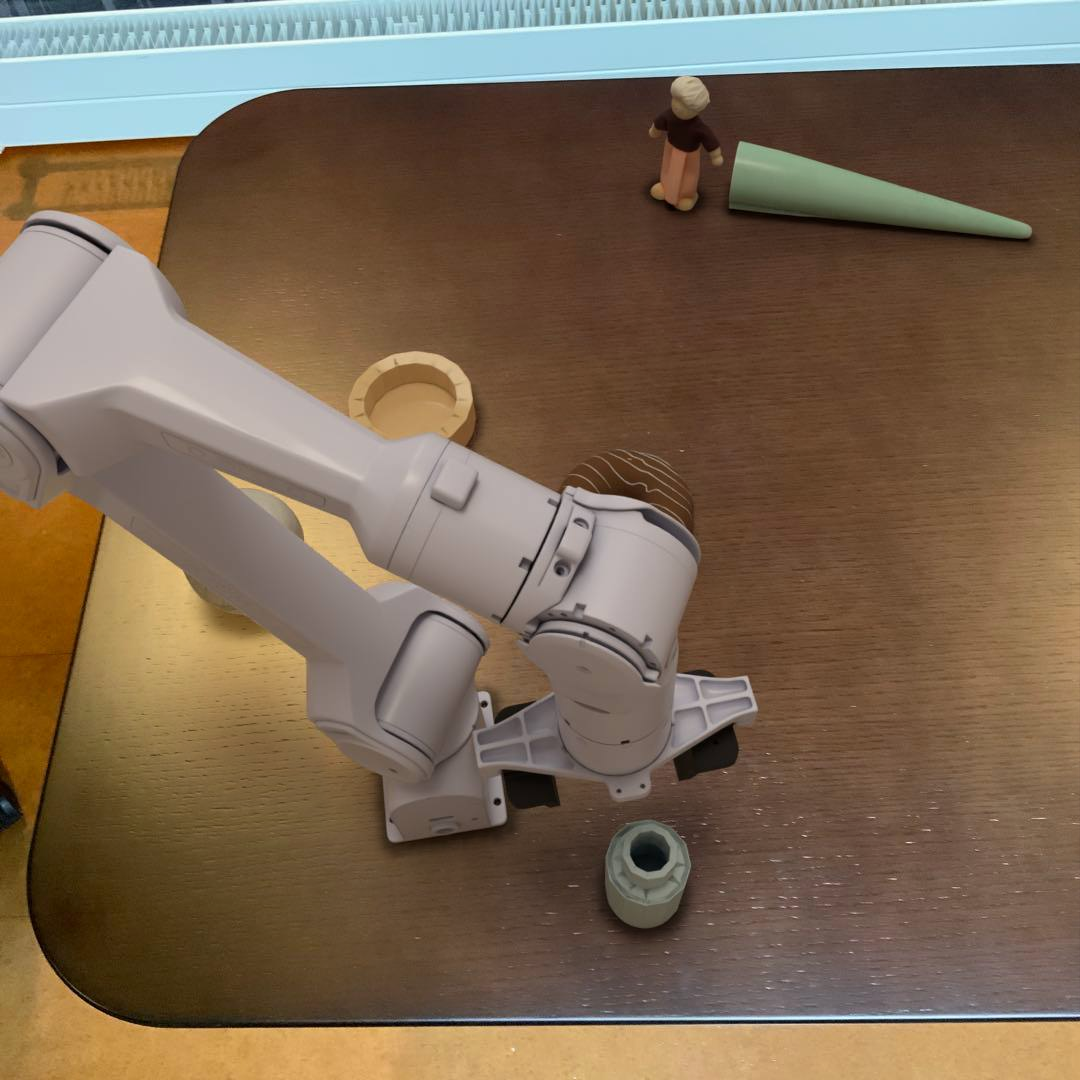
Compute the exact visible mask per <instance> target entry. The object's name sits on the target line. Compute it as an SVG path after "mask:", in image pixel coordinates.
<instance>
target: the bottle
mask: <svg viewBox="0 0 1080 1080" xmlns="http://www.w3.org/2000/svg"><path fill="white" fill-rule="evenodd" d="M604 861H605V863H604V865H605V866H604V886H605V893H606V899H607V903H608V905H609V906H610V908H611V910H612V911H613V913H614V914H615V915H616V917H618V918H619V919H620V920H621V921H622V922H624V923H625V924H627V925H629V926H631V927H635V928H638V929H652V928H655V927H659V926H661V925H663V924H664V923H666V922H667V921H669V920H670V919H671V918H672V917H673V916H674V915H675V913H676V912H677V911H678V908H679V906H680V902H681V900H682V897H683V894H684V890H685V888H686V884H687V882H688V878H689V875H690V872H691V868H692V863H691V858H690V855H689V849H688V845H687V843H686V842H685V841H684V839H683V838H682V837H681V836H680V835H679V834H678V833H677V832H676V831H675V829H674V828H673V827H671V826H670V825H667V824H665V823H661V822H659V821H657V820H653V819H645V820H639V821H632V822H629V823H627V824H626V825H625V826H624V827H622V828H621V829H620V830H619V831H617V832H616V834H614V835H613V836H612V838H611V841H610V843H609V846H608V848H607V852H606V855H605V860H604Z"/></svg>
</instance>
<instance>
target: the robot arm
mask: <svg viewBox="0 0 1080 1080" xmlns="http://www.w3.org/2000/svg"><path fill="white" fill-rule="evenodd" d="M218 471H219V472H218ZM220 472H221V473H223V474H226V475H229V476H231V477H234V478H236V479H239V480H242V481H244V482H247V483H250V484H252V485H254V486H257V487H260V488H262V489H264V490H267V491H269V492H272V493H276V494H278V495H280V496H283V497H286V498H289V499H291V500H293V501H296V502H299V503H301V504H304V505H306V506H309V507H311V508H314V509H316V510H320V511H321V512H325V513H328V514H330V515H332V516H335V517H337V518H340V519H343V520H345V521H347V523H348V524H349V525H350V527H351V528H352V531H353V532H354V534H355V537H356V539H357V541H358V543H359V546H360V548H361V550H362V553H363V555H364V557H365V558H366V560H367V561H368V563H370V564H371V565H374V566H376V567H377V568H380V569H382V570H385V571H387V572H388V573H390V574H393V575H394V576H396V577H398V578H401V579H402V580H405V581H402V580H401V581H400V580H398V581H397V580H396V581H395V580H394V581H393V580H391V581H385V582H380V583H378V584H377V583H376V584H375V585H372V586H370V587H368V588H366V589H364V588H363V587H361V586H360V585H359V584H358V583H356V582H355V581H354V580H353V579H352V578H351V577H349V576H348V575H347V574H346V573H344V572H343V571H342V570H340V569H339V568H338V567H337V566H336V565H334V564H333V563H332V562H330V561H329V560H328V559H327V558H325V556H323V555H322V554H321V553H319V552H318V551H317V550H316V549H314V548H313V547H311V546H310V545H309V544H308V543H307V542H305V540H304V541H303V540H302V539H300V538H299V537H298V536H297V535H295V534H294V533H293V532H292V531H290V530H289V529H288V528H287V527H286V526H284V525H283V524H282V523H281V522H279V521H278V520H277V519H276V518H274V517H273V516H272V515H271V514H269V513H268V512H267V511H266V510H264V509H263V508H262V507H261V506H259V505H258V504H257V503H256V502H254V501H253V500H252V499H251V498H249V497H248V496H247V495H246V494H244V493H243V492H242V491H241V490H239V489H240V488H238V487H237V486H236V485H234V483H232V482H230V481H229V479H227V478H226V477H225V476H223V475H222V474H221V473H220ZM0 491H1V492H2V493H4V494H5V495H7V496H8V497H10V498H12V499H14V500H16V501H19V502H23V503H25V504H26V505H28V507H30V508H32V509H34V510H41V509H43V508H44V507H46V506H47V505H49V504H50V503H51V502H53V501H55V499H57V498H58V497H60V496H62V495H63V494H65V493H68V494H69V495H72V496H73V497H75V498H77V499H79V500H81V501H83V502H85V503H87V505H90V506H91V507H93V508H95V509H96V510H98V511H99V512H100V513H102V514H103V515H104V516H106V517H108V518H109V519H110V520H111V521H113V522H114V523H115V524H117V525H119V526H120V527H121V528H123V529H124V530H125V531H127V532H128V533H130V534H131V535H133V536H134V537H135V538H136V539H138V540H139V541H141V542H142V543H143V544H145V545H146V546H148V547H150V549H152V550H154V551H155V552H156V553H157V554H159V555H160V556H162V557H163V558H165V559H166V560H167V561H169V562H171V563H172V564H173V565H175V566H176V567H177V568H179V569H180V570H182V572H183V571H184V572H186V573H187V574H188V575H190V576H191V577H193V578H194V579H195V580H197V581H198V582H200V583H201V584H202V585H204V586H205V587H207V588H208V589H209V590H211V591H212V592H214V593H215V594H216V595H218V596H219V597H221V598H222V599H223V600H225V601H226V602H228V603H229V604H230V605H232V606H233V607H235V608H236V609H237V610H239V611H240V612H242V613H243V614H244V615H243V616H246V617H247V618H248V619H250V620H251V621H252V622H254V623H256V624H257V625H259V626H260V627H261V628H263V629H264V630H265V631H267V632H268V633H269V634H270V635H272V636H273V637H275V638H276V639H278V640H279V641H281V642H282V643H283V644H285V645H286V646H288V647H289V648H290V649H292V650H293V651H295V652H296V653H297V654H299V655H300V656H302V657H303V658H304V659H305V671H306V672H305V681H306V682H305V701H306V702H305V707H306V708H305V709H306V719H307V720H308V721H309V722H311V723H312V724H314V727H315V729H316V730H318V731H319V732H320V733H322V734H323V736H326V737H327V738H328V739H329V740H330V741H331V742H332V743H333V744H334V745H335V747H336V749H337V750H338V751H339V752H340V753H342V755H344V756H345V757H346V758H348V759H349V760H351V761H352V762H354V763H356V764H358V765H359V766H361V767H363V768H365V769H367V770H368V771H370V772H373V773H375V774H378V775H380V776H381V777H382V786H383V801H384V812H385V813H384V814H385V826H386V837H387V839H388V841H390V842H391V843H393V844H398V843H405V842H409V841H416V840H422V839H429V838H434V837H440V836H447V835H452V834H458V833H464V832H469V831H475V830H482V829H488V828H494V827H500V826H503V825H505V824H506V823H507V821H508V813H507V812H508V811H507V806H506V805H507V804H506V798H505V793H506V796H507V799H508V800H509V802H510V804H511V805H512V806H513V808H515V809H516V810H528V809H529V810H530V809H533V808H538V807H543V806H545V807H546V808H549V809H552V808H557V807H561V805H562V804H561V800H560V795H559V790H558V783H557V780H556V777H562V778H570V779H577V780H585V781H590V782H591V781H592V782H598V783H601V784H604V785H605V786H606V787H607V789H608V793H609V796H610V798H611V800H612V801H614V802H616V803H625V802H630V801H635V800H640V799H644V798H646V797H648V796H649V795H650V794H651V792H652V781H651V777H650V776H651V774H652V773H653V772H654V771H656V770H658V769H659V768H661V767H662V766H664V765H666V764H668V763H669V762H671V761H672V762H673V765H674V768H675V773H676V776H677V781H678V782H683V781H688V780H691V779H693V778H695V777H697V776H698V775H699V774H705V773H708V772H713V771H718V770H722V769H723V770H724V769H728V768H730V767H732V766H734V765H735V764H736V762H737V760H738V757H739V753H740V752H739V750H740V746H739V741H738V739H737V736H736V732H735V728H734V726H735V727H738V728H739V727H745V726H749V725H754V724H755V722H756V719H757V715H758V712H759V707H758V704H757V701H756V698H755V695H754V691H753V688H752V685H751V682H750V679H749V676H748V675H742V676H734V677H717V676H716V675H715V673H714V674H713V672H711V671H709V670H706V669H693V670H689V671H684V672H677V671H678V663H679V653H680V652H679V646H680V645H679V637H678V634H679V628H680V625H681V621H682V619H683V616H684V613H685V610H686V608H687V605H688V602H689V600H690V597H691V594H692V591H693V588H694V585H695V583H696V580H697V578H698V572H699V571H698V570H699V569H698V566H699V564H700V562H701V559H702V550H701V547H700V545H699V543H698V541H697V539H696V538H695V536H694V535H693V533H692V532H691V533H690V532H689V531H688V530H687V529H686V528H685V527H684V526H683V525H682V524H680V523H679V522H678V521H676V520H675V519H674V518H672V517H670V516H669V515H667V514H665V513H663V512H661V511H660V510H658V509H657V508H655V507H654V506H652V505H650V504H648V503H645V502H642V501H639V500H636V499H632V498H628V497H623V496H616V495H601V494H595V493H592V492H589V491H586V490H584V489H582V488H580V487H578V488H574V487H571V486H567V487H566V488H565V490H564V491H563V493H562V495H560V494H558V493H557V492H556V491H555V490H553V489H550V488H548V487H546V486H544V485H542V484H540V483H538V482H536V481H534V480H533V479H530V478H528V477H526V476H524V475H522V474H520V473H518V472H516V471H514V470H512V469H510V468H508V467H506V466H505V465H504V466H503V465H501V464H499V463H497V462H495V461H494V460H492V459H490V458H488V457H486V456H483V455H481V454H479V453H478V452H475V451H473V450H471V449H469V448H467V447H466V446H465V447H463V446H461V445H459V444H457V443H455V442H453V441H451V440H449V439H447V438H445V437H443V436H441V435H439V434H437V433H434V432H427V433H422V434H418V435H414V436H410V437H405V438H401V439H396V440H386V439H384V438H383V437H381V436H379V435H378V434H376V433H374V432H373V431H371V430H369V429H368V428H366V427H364V426H362V425H361V424H359V423H357V422H356V421H354V420H352V419H351V418H349V416H347V415H346V414H344V413H342V412H341V411H339V410H338V409H335V408H334V407H332V406H331V405H329V404H327V403H325V402H324V401H323V400H321V399H319V398H317V397H315V396H314V395H312V394H311V393H309V392H307V391H305V390H304V389H302V388H300V387H299V386H297V385H295V384H294V383H292V382H290V381H289V380H287V379H285V378H284V377H282V376H281V375H279V374H277V373H275V372H274V371H272V370H270V369H269V368H267V367H265V366H264V365H262V364H260V363H259V362H257V361H255V360H254V359H252V358H250V357H248V356H247V355H245V354H243V353H242V352H240V351H238V350H236V349H235V348H234V347H232V346H230V345H228V344H227V343H225V342H223V341H222V340H221V339H218V338H217V337H215V336H214V335H212V334H210V333H208V332H207V331H205V330H203V329H201V328H199V327H198V326H197V325H195V324H194V323H191V322H190V318H189V315H188V312H187V310H186V307H185V306H184V303H183V301H182V300H181V298H180V296H179V295H178V293H177V292H176V290H175V287H173V285H172V284H171V282H170V281H169V280H168V279H167V278H166V276H165V275H164V273H163V272H162V271H161V270H160V269H159V268H158V267H157V266H156V264H155V263H153V261H152V260H151V259H149V257H147V255H145V254H142V253H141V252H138V251H137V250H136V249H135V248H134V247H132V246H131V245H130V244H129V243H128V242H127V241H126V240H124V239H123V238H122V237H121V236H119V235H118V234H117V233H115V232H113V231H112V230H110V229H109V228H107V227H106V226H104V225H102V224H100V223H98V222H96V221H94V220H92V219H89V218H87V217H84V216H81V215H79V214H73V213H69V212H65V211H59V210H53V209H50V210H49V209H48V210H47V209H46V210H45V209H44V210H40V211H36V212H34V213H33V214H31V215H30V216H29V217H28V218H27V219H26V220H25V222H23V224H22V227H21V229H20V230H19V235H18V236H17V237H16V238H15V240H14V241H13V242H12V243H11V244H10V245H9V247H8V248H7V249H6V250H5V251H4V252H3V254H2V255H1V256H0ZM184 572H183V573H184ZM470 612H471V613H473V614H475V615H477V616H479V617H482V618H483V619H485V620H487V621H489V622H491V623H494V624H496V625H499V626H500V627H502V628H505V629H506V630H509V631H510V632H513V633H515V634H517V635H519V636H521V638H520V637H519V638H518V637H516V638H515V644H516V645H517V648H518V649H519V651H520V652H521V653H522V654H523V656H524V657H525V658H526V659H527V660H528V661H529V662H530V663H532V664H533V665H534V666H536V667H537V668H538V669H540V670H541V671H542V672H543V673H544V674H545V675H546V676H547V678H548V681H549V687H550V689H553V691H552V692H550V693H548V694H546V695H545V696H543V697H542V698H540V699H538V700H532V701H527V702H521V703H517V704H512V705H508V706H505V707H504V708H502V709H501V710H500V711H499V712H498V713H497V715H496V716H495V720H494V711H493V705H492V697H491V695H490V693H489V692H487V691H485V690H481V691H478V690H477V689H478V688H477V687H476V680H475V678H476V675H477V674H476V673H477V671H478V667H479V665H480V663H481V661H482V658H483V657H485V656H486V654H487V652H488V650H489V649H490V647H491V640H490V637H489V635H488V634H487V632H486V631H485V628H484V626H483V624H482V623H481V622H480V621H479V620H478V619H477V618H476V617H475V616H473V614H471V613H470ZM483 704H487V705H486V706H485V707H482V705H483ZM502 777H503V778H502ZM503 781H504V783H503ZM504 786H505V787H504ZM504 788H505V791H504ZM498 800H499V801H500V804H498V805H496V804H495V802H496V801H498ZM391 821H392V822H391Z"/></svg>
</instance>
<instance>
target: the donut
mask: <svg viewBox="0 0 1080 1080" xmlns="http://www.w3.org/2000/svg"><path fill="white" fill-rule="evenodd" d="M567 486H571V487H574V488H578V487H580V488H582V489H584V490H586V491H589V492H592V493H595V494H601V495H616V496H623V497H628V498H632V499H636V500H639V501H642V502H645V503H648V504H650V505H652V506H654V507H655V508H657V509H658V510H660V511H661V512H663V513H665V514H667V515H669V516H670V517H672V518H674V519H675V520H676V521H678V522H679V523H680V524H682V525H683V526H684V527H685V528H686V529H687V530H688V531H689V532H690V533H691V534H692V533H693V531H694V511H695V503H694V501H693V497H692V496H693V495H692V494H691V490H690V488H689V486H688V484H687V482H686V481H685V479H684V478H683V477H682V476H681V474H679V472H678V471H677V470H676V469H675V468H674V467H673V466H671V465H670V463H668V462H667V461H665V460H664V459H662V458H661V457H659V456H657V455H654V454H650V453H646V452H639V451H637V450H623V449H621V448H616V449H614V450H609V451H603V452H600V453H599V454H595V455H592V456H590V457H589V458H587V459H585V460H583V461H581V462H580V463H579V464H577V465H576V466H575V467H574V468H572V470H571V471H570V472H569V473H568V475H567V476H566V477H565V479H564V480H563V481H562V483H561V485H560V486H559V489H558V490H557V492H556V493H558V494H560V495H562V493H563V491H564V490H565V488H566V487H567Z"/></svg>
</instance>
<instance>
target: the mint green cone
mask: <svg viewBox="0 0 1080 1080" xmlns="http://www.w3.org/2000/svg"><path fill="white" fill-rule="evenodd" d="M734 157H735V158H734V162H733V168H732V173H731V180H730V187H729V197H728V204H729V205H728V209H733V210H741V211H751V212H758V213H768V214H777V215H785V216H786V215H787V216H796V217H814V218H822V219H832V220H844V221H851V222H860V223H861V222H862V223H871V224H880V225H889V226H897V227H907V228H915V229H925V230H934V231H942V232H943V231H944V232H951V233H952V232H953V233H961V234H970V235H971V234H972V235H980V236H988V237H996V238H997V237H998V238H1007V239H1008V238H1009V239H1018V240H1019V239H1020V240H1024V239H1025V240H1026V239H1029V238H1030V237H1031V236H1032V235H1033V228H1032V227H1031V226H1030V225H1029V224H1027V223H1025V222H1022V221H1020V220H1019V221H1018V220H1015V219H1012V218H1009V217H1006V216H1003V215H1000V214H996V213H992V212H990V211H987V210H983V209H979V208H977V207H973V206H969V205H966V204H963V203H959V202H956V201H953V200H949V199H945V198H942V197H939V196H936V195H932V194H930V193H926V192H922V191H919V190H916V189H913V188H908V187H905V186H902V185H899V184H895V183H891V182H889V181H885V180H882V179H878V178H875V177H872V176H868V175H866V174H865V175H864V174H861V173H858V172H854V171H853V170H852V171H851V170H848V169H845V168H841V167H838V166H835V165H832V164H828V163H824V162H821V161H817V160H814V159H811V158H808V157H804V156H801V155H799V154H798V155H797V154H794V153H790V152H787V151H783V150H780V149H777V148H776V149H775V148H771V147H767V146H764V145H763V146H762V145H758V144H754V143H751V142H747V141H746V142H745V141H741V140H739V142H738V145H737V147H736V153H735V156H734Z"/></svg>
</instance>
